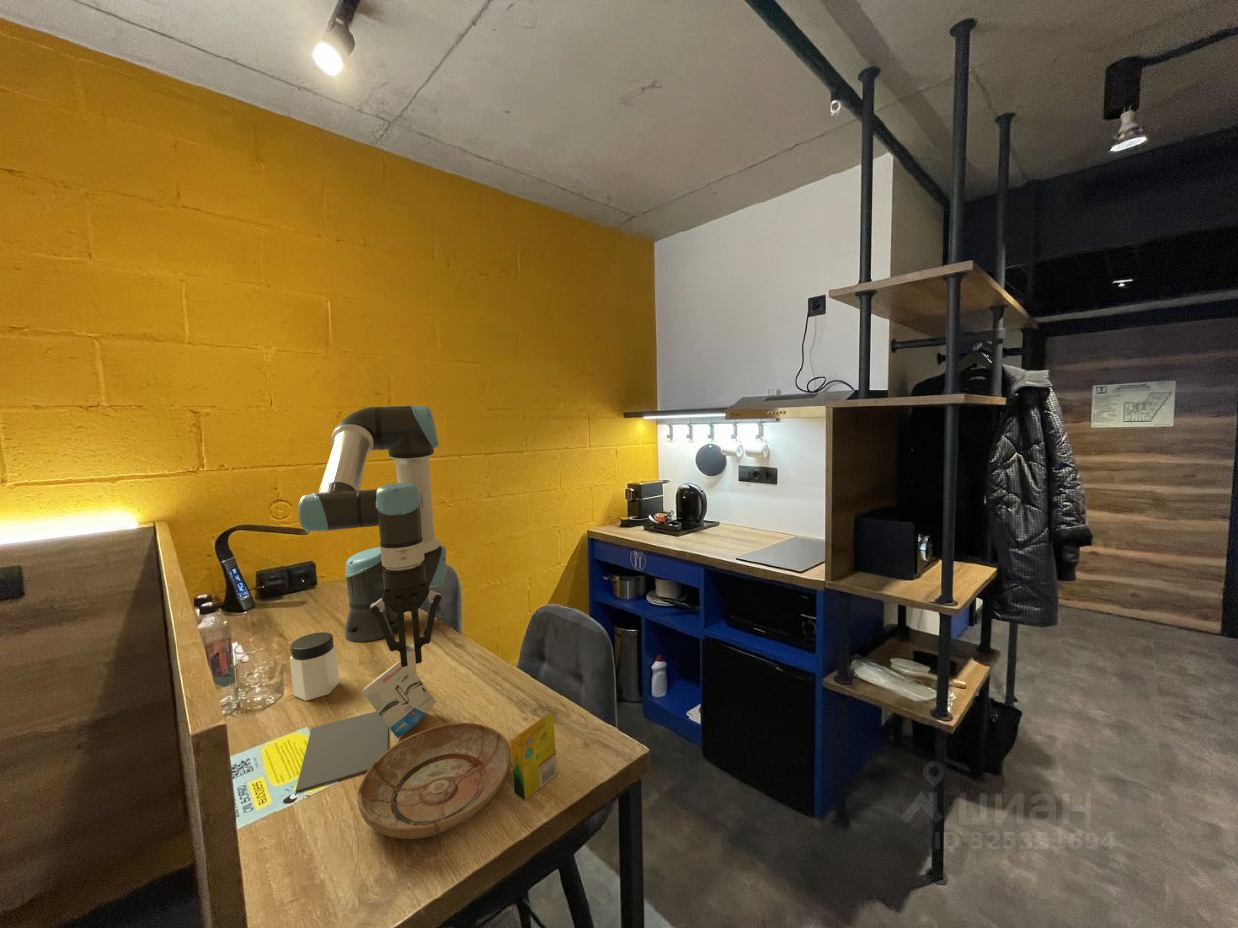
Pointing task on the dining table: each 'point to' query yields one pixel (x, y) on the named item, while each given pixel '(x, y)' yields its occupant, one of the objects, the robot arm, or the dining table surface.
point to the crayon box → (534, 757)
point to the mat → (342, 750)
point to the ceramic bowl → (434, 780)
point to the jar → (314, 666)
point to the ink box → (399, 699)
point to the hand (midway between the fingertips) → (412, 679)
